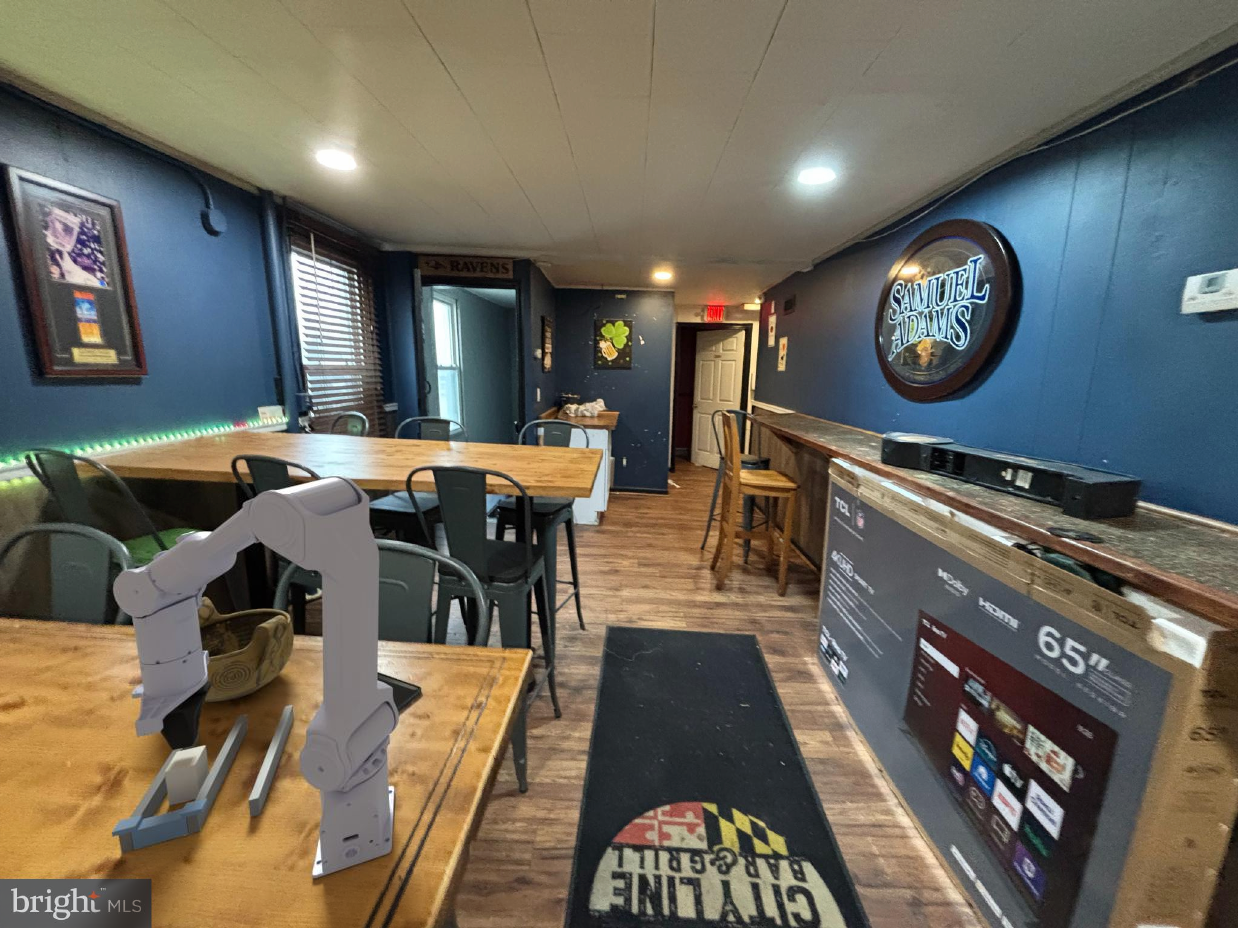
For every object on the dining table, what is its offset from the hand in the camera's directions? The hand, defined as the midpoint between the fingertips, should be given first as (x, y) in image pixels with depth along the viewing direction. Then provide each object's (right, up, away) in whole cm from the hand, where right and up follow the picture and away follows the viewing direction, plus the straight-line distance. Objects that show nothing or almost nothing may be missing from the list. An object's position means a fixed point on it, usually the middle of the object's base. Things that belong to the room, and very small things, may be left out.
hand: (184, 744), depth 60 cm
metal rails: (+2, -6, +3) cm, 7 cm away
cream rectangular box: (0, -6, 0) cm, 6 cm away
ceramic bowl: (-10, -3, +20) cm, 23 cm away
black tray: (+14, -4, +20) cm, 25 cm away
